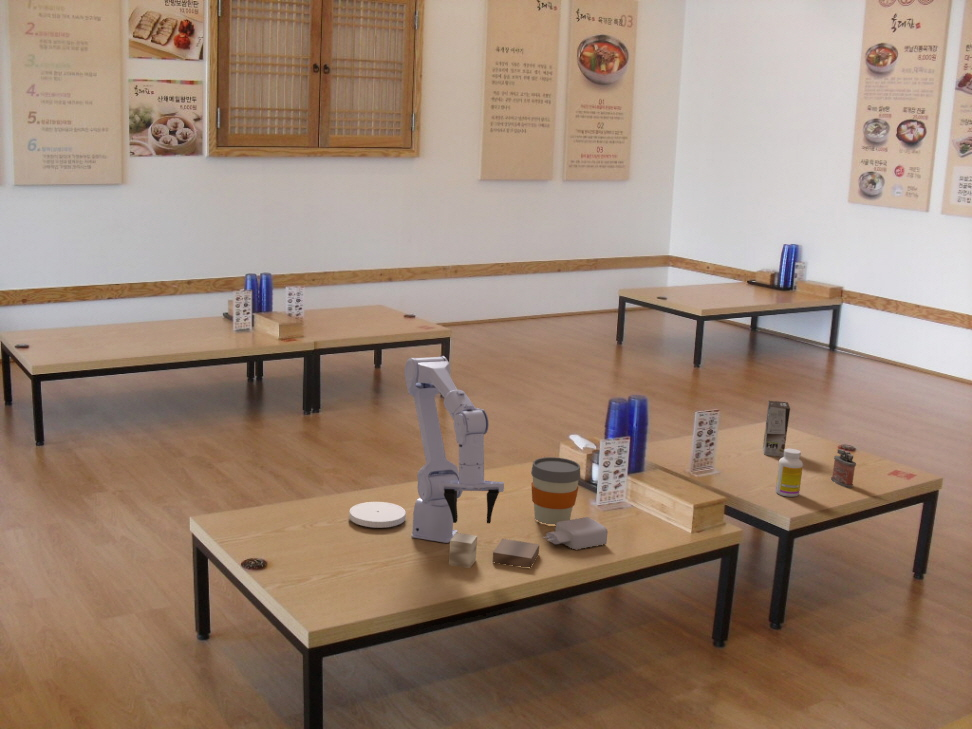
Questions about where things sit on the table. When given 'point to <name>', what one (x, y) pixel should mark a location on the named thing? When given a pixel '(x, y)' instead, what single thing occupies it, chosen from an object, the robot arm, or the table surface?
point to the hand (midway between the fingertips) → (472, 522)
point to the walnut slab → (515, 553)
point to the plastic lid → (377, 514)
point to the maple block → (463, 550)
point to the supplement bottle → (789, 473)
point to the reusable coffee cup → (554, 488)
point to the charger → (578, 533)
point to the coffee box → (776, 428)
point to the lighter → (843, 469)
